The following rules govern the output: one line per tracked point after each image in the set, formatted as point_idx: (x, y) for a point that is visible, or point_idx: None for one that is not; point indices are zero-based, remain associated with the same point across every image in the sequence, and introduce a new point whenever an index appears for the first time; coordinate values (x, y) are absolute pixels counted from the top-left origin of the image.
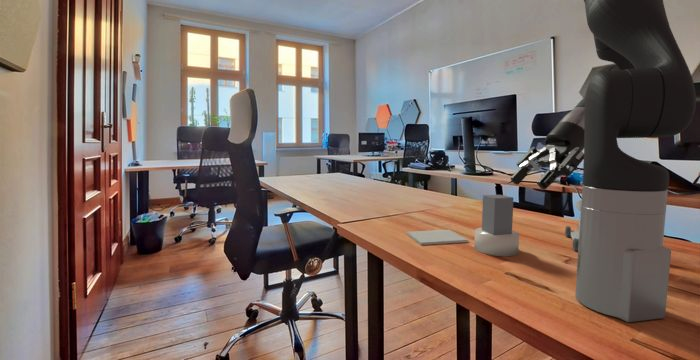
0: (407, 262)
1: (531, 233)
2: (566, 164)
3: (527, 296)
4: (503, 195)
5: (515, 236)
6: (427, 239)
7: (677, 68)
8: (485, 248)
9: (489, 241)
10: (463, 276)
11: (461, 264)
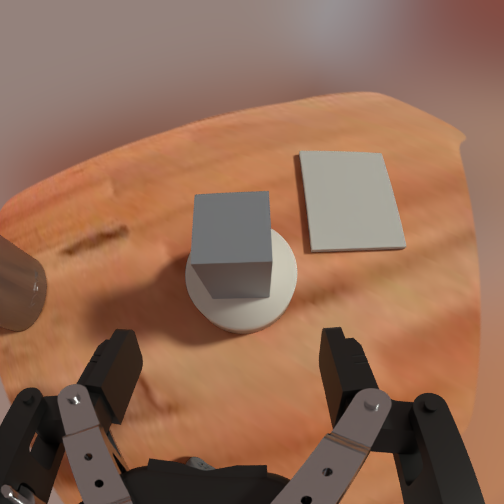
0: (212, 116)
1: None
2: (12, 411)
3: (65, 213)
4: (249, 259)
5: (189, 292)
6: (321, 168)
7: None
8: None
9: None
10: (137, 166)
11: (179, 180)
